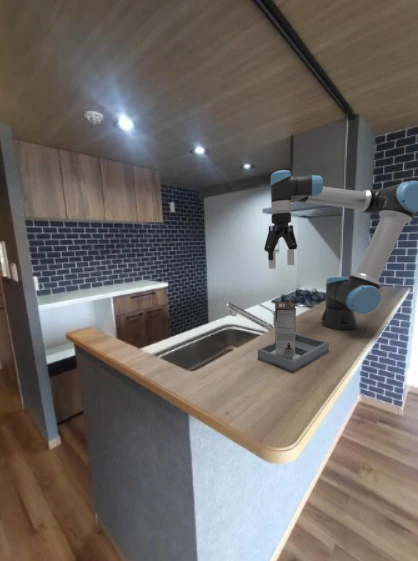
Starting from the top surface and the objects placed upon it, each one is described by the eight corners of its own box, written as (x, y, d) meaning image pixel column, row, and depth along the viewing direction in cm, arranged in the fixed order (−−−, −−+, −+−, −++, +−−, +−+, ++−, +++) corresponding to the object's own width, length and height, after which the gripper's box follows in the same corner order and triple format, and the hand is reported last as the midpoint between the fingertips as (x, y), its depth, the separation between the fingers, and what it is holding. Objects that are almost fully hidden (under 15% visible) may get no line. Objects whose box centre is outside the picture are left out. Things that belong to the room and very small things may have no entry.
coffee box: (274, 344, 95) (274, 301, 93) (292, 345, 94) (293, 301, 91) (275, 355, 86) (275, 308, 84) (296, 356, 85) (296, 308, 83)
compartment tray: (294, 341, 107) (294, 333, 106) (328, 351, 96) (328, 342, 95) (257, 358, 92) (257, 349, 92) (292, 373, 81) (293, 362, 81)
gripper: (289, 214, 114) (289, 263, 117) (253, 213, 98) (255, 269, 101) (305, 212, 109) (305, 263, 112) (270, 210, 92) (272, 270, 95)
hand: (281, 266), depth 106 cm, fingers open, 13 cm apart
